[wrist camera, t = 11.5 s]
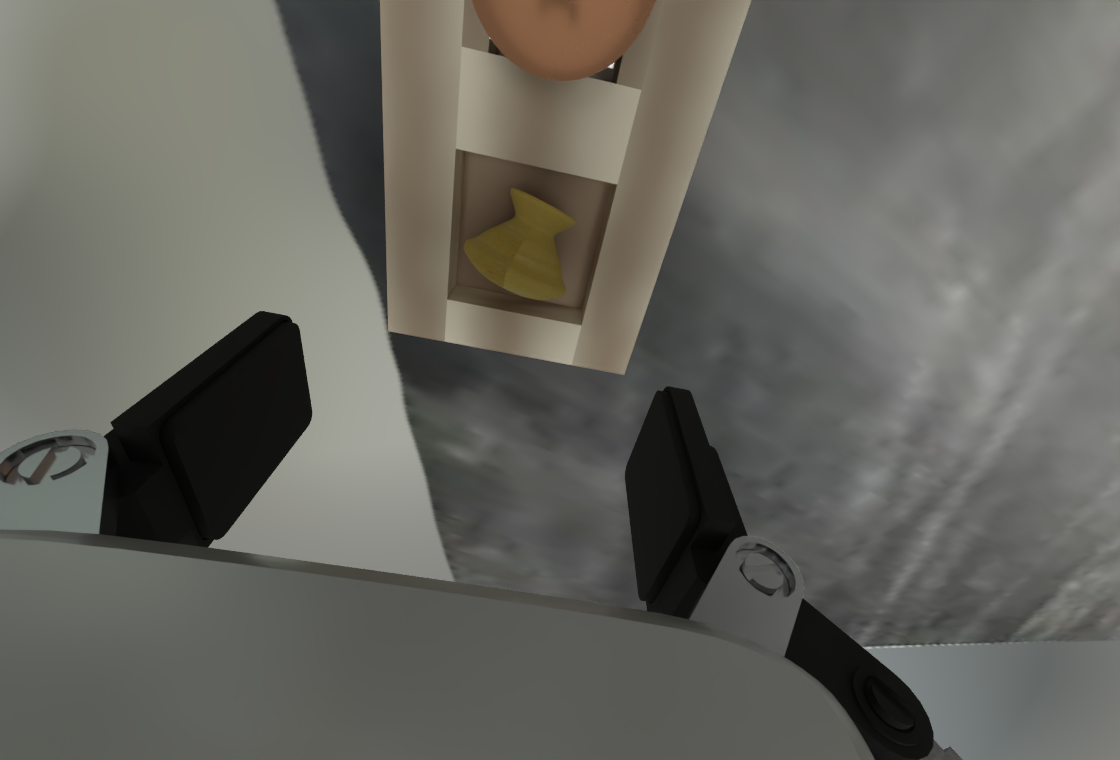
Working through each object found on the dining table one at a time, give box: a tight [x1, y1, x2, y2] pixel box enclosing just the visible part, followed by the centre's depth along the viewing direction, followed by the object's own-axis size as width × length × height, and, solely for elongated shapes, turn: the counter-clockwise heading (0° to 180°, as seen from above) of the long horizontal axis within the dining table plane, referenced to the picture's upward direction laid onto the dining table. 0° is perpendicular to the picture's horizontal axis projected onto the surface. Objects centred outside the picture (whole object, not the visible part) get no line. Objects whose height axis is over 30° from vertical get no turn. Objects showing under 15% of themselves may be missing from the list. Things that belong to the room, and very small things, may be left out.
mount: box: [380, 0, 751, 375], centre depth 20 cm, size 13×21×4 cm, turn 169°
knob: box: [463, 188, 576, 300], centre depth 21 cm, size 5×5×5 cm
